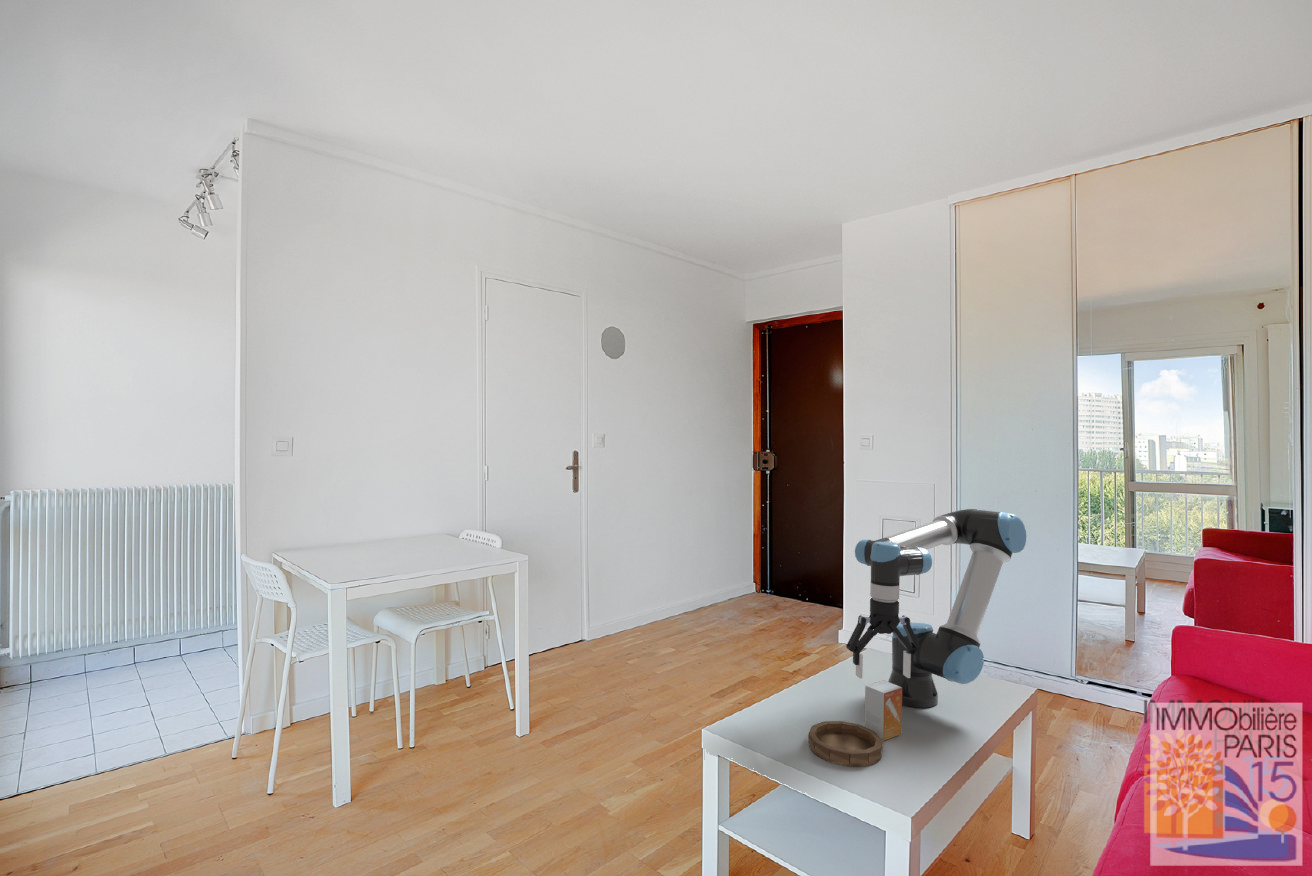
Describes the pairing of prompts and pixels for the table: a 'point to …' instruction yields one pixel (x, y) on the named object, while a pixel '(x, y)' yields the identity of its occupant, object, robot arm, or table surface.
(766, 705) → the table surface
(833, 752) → the walnut bowl
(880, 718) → the small box
